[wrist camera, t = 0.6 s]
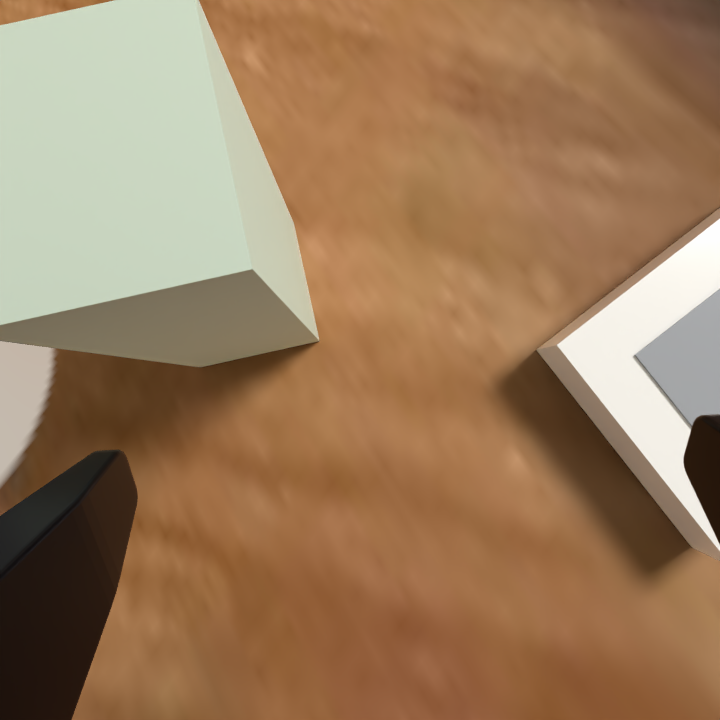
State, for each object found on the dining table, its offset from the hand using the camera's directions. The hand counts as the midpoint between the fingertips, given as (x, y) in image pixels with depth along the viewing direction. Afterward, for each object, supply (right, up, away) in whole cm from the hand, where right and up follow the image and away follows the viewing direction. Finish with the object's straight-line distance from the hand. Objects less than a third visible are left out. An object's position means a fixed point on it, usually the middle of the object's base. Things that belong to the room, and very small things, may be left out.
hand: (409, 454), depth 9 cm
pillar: (-5, +4, +14) cm, 16 cm away
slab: (+13, +1, +14) cm, 19 cm away
